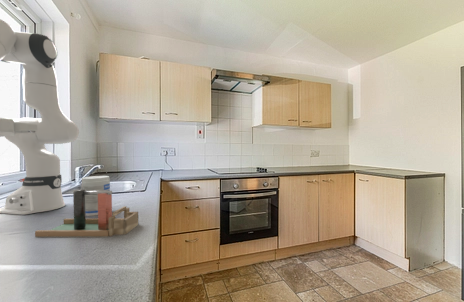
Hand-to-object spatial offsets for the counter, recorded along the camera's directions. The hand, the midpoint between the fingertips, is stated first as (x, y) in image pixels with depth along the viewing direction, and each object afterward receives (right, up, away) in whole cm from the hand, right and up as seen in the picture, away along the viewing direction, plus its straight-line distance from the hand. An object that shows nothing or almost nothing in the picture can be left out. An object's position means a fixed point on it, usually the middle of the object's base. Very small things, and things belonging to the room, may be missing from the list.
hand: (36, 129), depth 65 cm
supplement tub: (+6, -32, +20) cm, 38 cm away
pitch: (+13, -32, +2) cm, 35 cm away
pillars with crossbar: (+16, -31, +2) cm, 35 cm away
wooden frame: (+26, -32, +2) cm, 41 cm away
